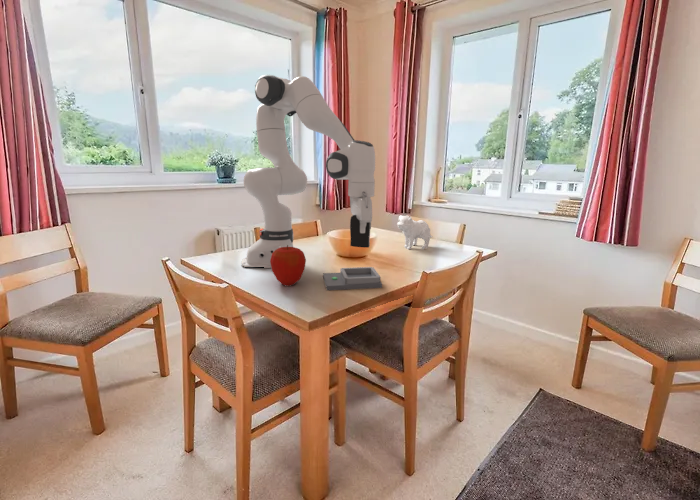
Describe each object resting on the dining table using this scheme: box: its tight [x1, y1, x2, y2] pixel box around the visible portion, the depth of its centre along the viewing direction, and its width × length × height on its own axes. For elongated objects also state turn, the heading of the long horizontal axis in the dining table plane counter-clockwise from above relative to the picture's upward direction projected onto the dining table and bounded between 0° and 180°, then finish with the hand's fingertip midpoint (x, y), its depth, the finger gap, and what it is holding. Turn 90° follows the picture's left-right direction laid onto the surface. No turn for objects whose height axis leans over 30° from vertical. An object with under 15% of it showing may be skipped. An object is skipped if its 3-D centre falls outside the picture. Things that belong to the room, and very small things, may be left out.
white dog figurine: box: [394, 214, 433, 251], centre depth 180 cm, size 25×10×17 cm, turn 125°
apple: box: [270, 245, 307, 287], centre depth 125 cm, size 12×12×14 cm
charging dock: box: [322, 266, 383, 291], centre depth 129 cm, size 19×14×4 cm
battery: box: [349, 214, 372, 249], centre depth 126 cm, size 7×4×11 cm, turn 76°
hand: (360, 231), depth 125 cm, fingers closed on battery, 5 cm apart
